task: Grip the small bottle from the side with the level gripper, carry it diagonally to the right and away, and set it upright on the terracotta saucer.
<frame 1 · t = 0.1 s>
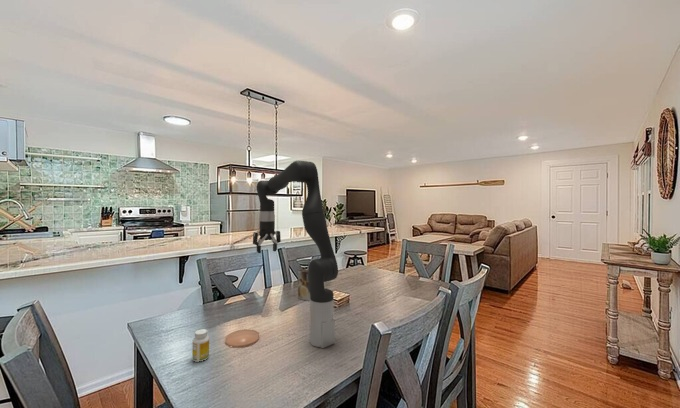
hand: (267, 252, 152), 29 cm above the table, tool pointing down, fingers open, 8 cm apart
terracotta saucer: (242, 339, 120), on the table
supplement bottle: (200, 359, 106), on the table
coffee box: (307, 298, 169), on the table
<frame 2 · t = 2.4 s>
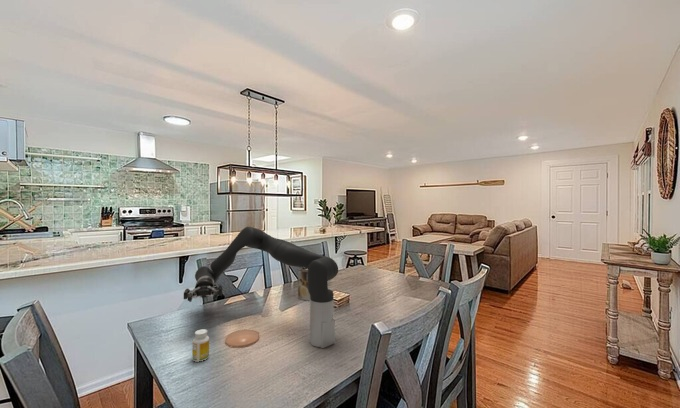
hand: (202, 298, 116), 18 cm above the table, tool horizontal, fingers open, 8 cm apart
nothing on the table moved.
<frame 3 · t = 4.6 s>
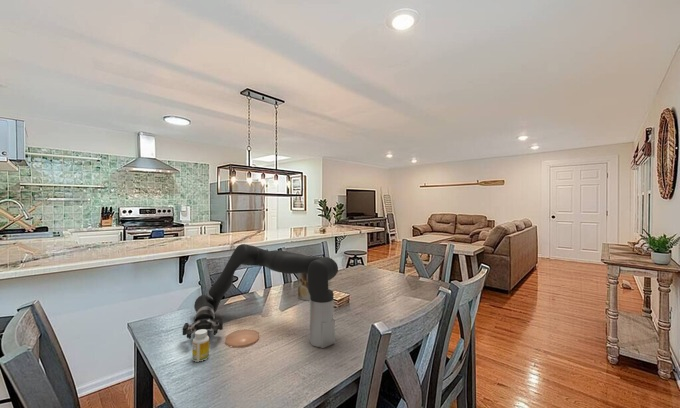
hand: (202, 334, 112), 6 cm above the table, tool horizontal, fingers open, 8 cm apart
nothing on the table moved.
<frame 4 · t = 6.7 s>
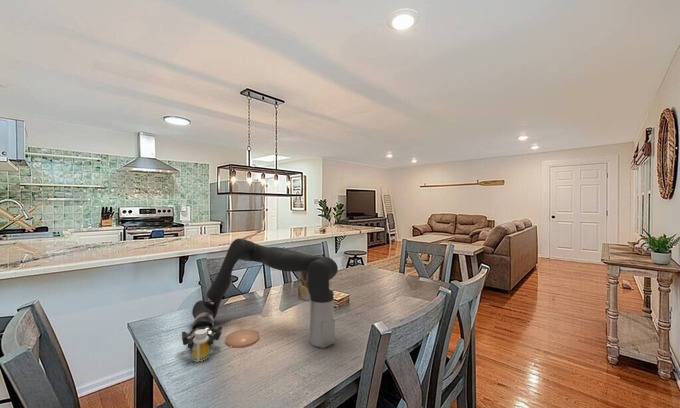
hand: (200, 344, 104), 6 cm above the table, tool horizontal, fingers closed on supplement bottle, 5 cm apart
supplement bottle: (200, 358, 106), on the table, touching gripper
everything else where it was.
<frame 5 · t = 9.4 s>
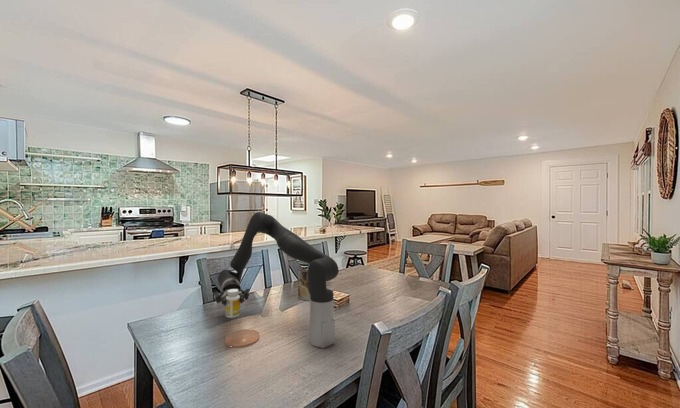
hand: (233, 301, 114), 18 cm above the table, tool horizontal, fingers closed on supplement bottle, 5 cm apart
supplement bottle: (232, 315, 116), point 11 cm above the table, touching gripper
everything else where it was.
when the fingers open (8 cm above the table, at t = 12.0 s): supplement bottle stays where it is, resting on terracotta saucer.
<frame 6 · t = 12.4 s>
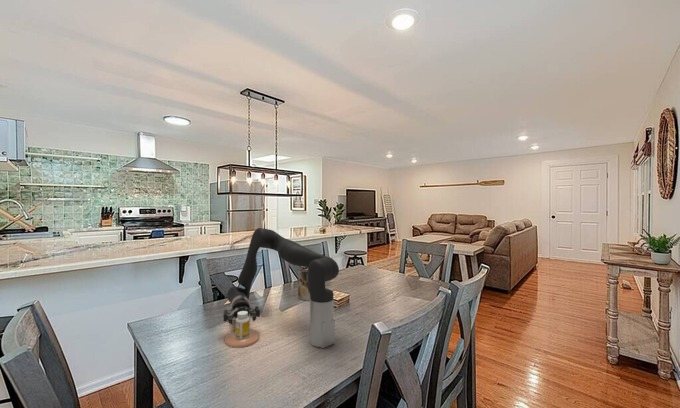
hand: (242, 320, 118), 8 cm above the table, tool horizontal, fingers open, 8 cm apart
supplement bottle: (242, 336, 120), point 1 cm above the table, touching terracotta saucer
everything else where it was.
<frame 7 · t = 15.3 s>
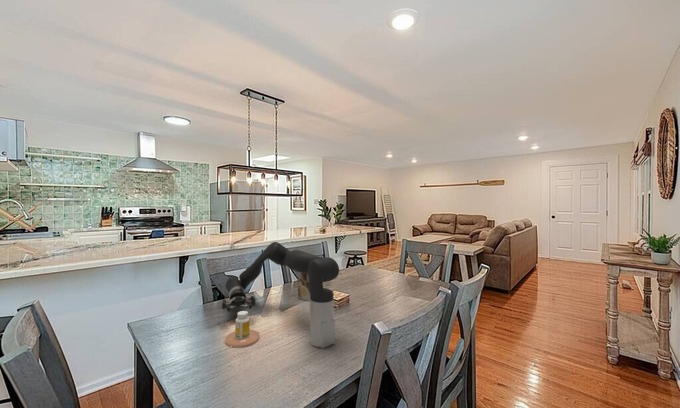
hand: (239, 308, 130), 9 cm above the table, tool horizontal, fingers open, 8 cm apart
nothing on the table moved.
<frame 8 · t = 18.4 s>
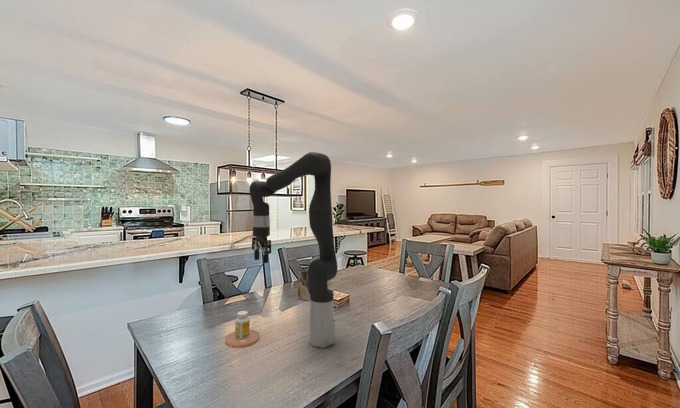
hand: (261, 261, 136), 28 cm above the table, tool pointing down, fingers open, 8 cm apart
nothing on the table moved.
at the end: supplement bottle inside the target area on the terracotta saucer (0.1 cm from its centre), point 1.0 cm above the terracotta saucer's base; supplement bottle tilted 0°; the gripper is holding nothing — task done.
